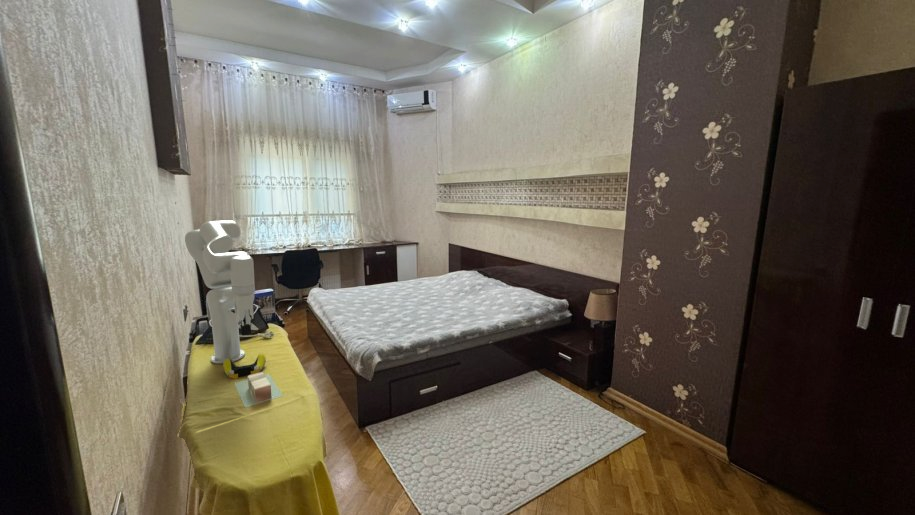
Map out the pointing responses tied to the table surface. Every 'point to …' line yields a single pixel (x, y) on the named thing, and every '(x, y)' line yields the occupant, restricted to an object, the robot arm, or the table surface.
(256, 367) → the gaming controller
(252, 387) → the birch pillar
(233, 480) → the table surface
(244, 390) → the sage mat
